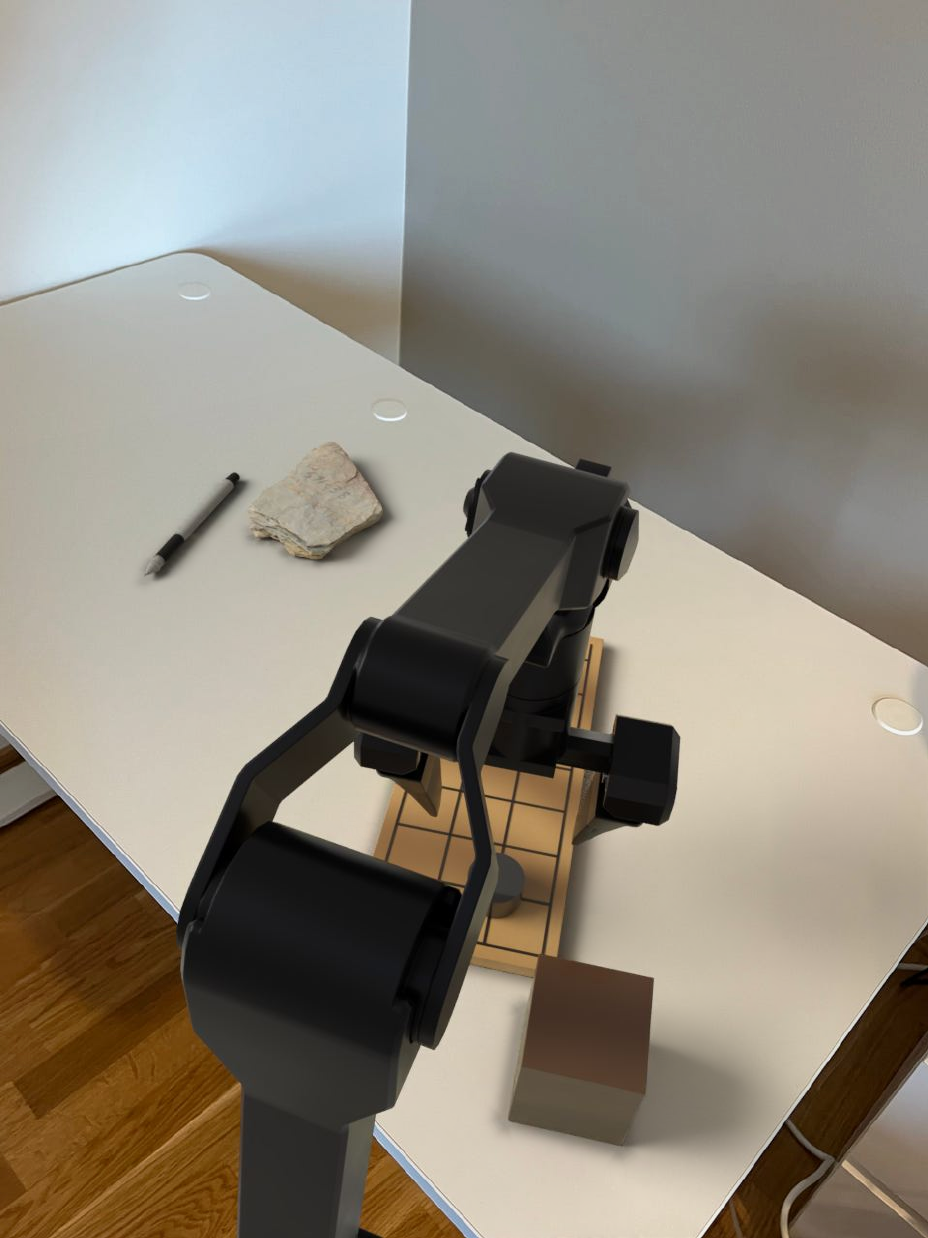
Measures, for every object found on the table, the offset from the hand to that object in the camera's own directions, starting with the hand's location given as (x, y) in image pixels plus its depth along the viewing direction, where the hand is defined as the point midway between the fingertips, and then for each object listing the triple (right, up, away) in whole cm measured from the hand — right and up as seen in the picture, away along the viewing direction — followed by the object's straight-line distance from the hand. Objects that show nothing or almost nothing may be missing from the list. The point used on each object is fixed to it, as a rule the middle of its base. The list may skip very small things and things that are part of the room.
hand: (504, 825), depth 69 cm
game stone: (-1, -6, +6) cm, 8 cm away
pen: (-28, +22, +33) cm, 49 cm away
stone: (-18, +24, +36) cm, 46 cm away
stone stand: (+4, -15, -2) cm, 16 cm away
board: (0, +1, +14) cm, 14 cm away
